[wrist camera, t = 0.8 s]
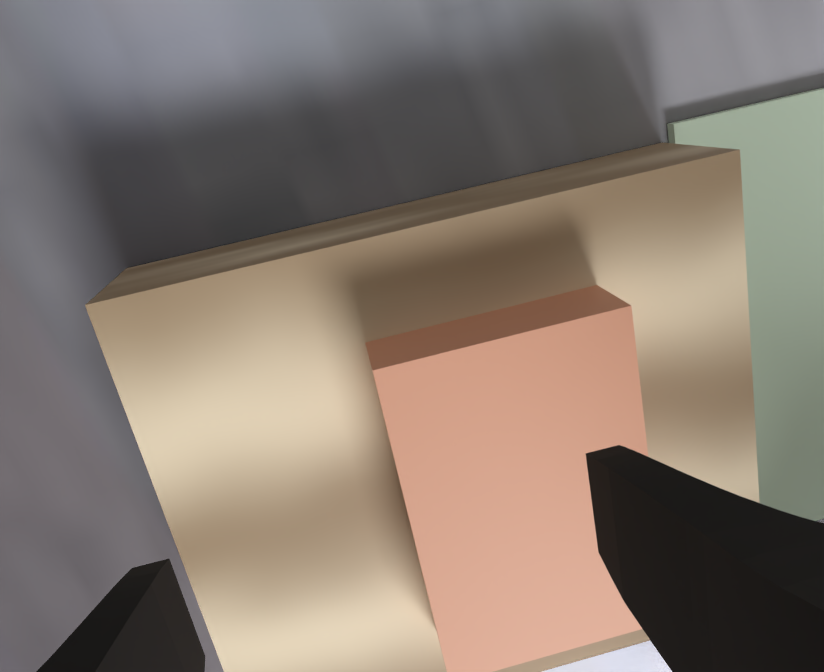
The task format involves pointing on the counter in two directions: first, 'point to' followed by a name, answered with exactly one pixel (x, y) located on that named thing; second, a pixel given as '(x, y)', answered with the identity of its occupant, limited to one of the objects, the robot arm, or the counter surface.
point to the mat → (781, 284)
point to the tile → (512, 469)
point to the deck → (358, 398)
